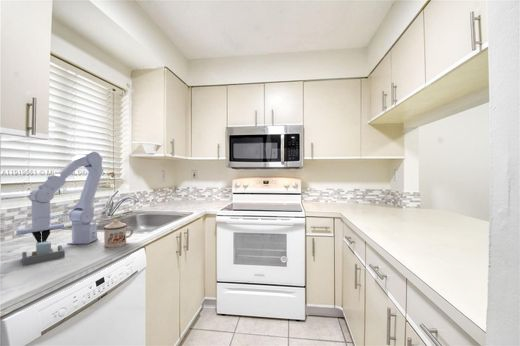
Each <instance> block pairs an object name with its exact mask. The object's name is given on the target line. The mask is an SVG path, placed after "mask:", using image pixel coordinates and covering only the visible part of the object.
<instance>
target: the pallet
mask: <svg viewBox="0 0 520 346" xmlns="http://www.w3.org/2000/svg"><path fill="white" fill-rule="evenodd" d="M51 252H55V251H54V249H53V247H51ZM35 255H37V254H36V250H34V251H32V252H31V256H35Z"/></svg>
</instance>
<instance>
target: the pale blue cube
mask: <svg viewBox="0 0 520 346" xmlns="http://www.w3.org/2000/svg"><path fill="white" fill-rule="evenodd" d="M35 247H36V248H35V251H36V254H37V255H40V254H45V253H50V252H51V248H52V242H51V240H46V241H45V242H42V241H41V242H39V243H38V242H36V243H35Z"/></svg>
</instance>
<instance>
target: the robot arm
mask: <svg viewBox="0 0 520 346" xmlns="http://www.w3.org/2000/svg"><path fill="white" fill-rule="evenodd" d="M102 162H103V157H102V156H101V154H100V153H99V152H97V151H81V152H79V153H77V155H75V156H73V158H72V160H71V161H69V163H67V164H66V165H65V167H63V169H61V171H60V172H58V174H52V175H48V176H47V177H46V180H45V181H44V182H42V183H41V184H39V185H37V188H35V189H33V190H31V191H30V193H29V195H28V196H27V197H28V199H29V201H31V227H26V228H22V229H16V233H15V234H16V235H15V236H21V235H22V236H23V235H27V234H32V236H33V238H34V239H35V240H36V243H39V242H45V241H48V238H49V236H50V234H51V231H57V230H64V229H65V224H64V223H60V224H57V223H56V224H51V201H52V200H53V198H54V196H55V193H57V191H58V190H60V189H61V188H62V187H63V186H64V185H65V184H66V179H67V178H68V177H70V175H73V173H74V172H75V171H77V170H78V169H80V167H84V168H85V169H86V170H87V172H88V173H87V177H86V180H85V182H84V186H83V188H82V191H81V194H80V197H79V200H78V202H77V203H76V204H75V205H74V206H73V207H72V209H71V211H70V212H69V214H68V219H69V220H70V221H71V241H68V242H67V243H66V244H67V245H73V244H74V245H77V244H78V245H79V244H83V245H84V244H85V245H86V244H89V243H92V242H94V241H96V240H98V239H99V238H98V225H97V224H96V223H94V222H92V221H93V220H94V218H95V215H94V212H95V211H94V210H95V208H94V206H93V202H94V199H95V196H96V192H97V190H98V187H99V183H100V180H101V177H102V175H103V164H102Z"/></svg>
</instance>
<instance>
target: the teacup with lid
mask: <svg viewBox="0 0 520 346" xmlns="http://www.w3.org/2000/svg"><path fill="white" fill-rule="evenodd" d="M103 230H104V234H103V235H104V237H103V238H104V244H103V245H104V247H105V248H119V247H122V246H124V245H126V244H127V239H129V238H130V237H132V235H133V234H134V228H133V227H131V226H127V223H124V222H121V221H119V220H118V219H113V221H112V222H110V223H108V224H106V225H104V226H103ZM127 230H130V231H131V232H130V233H129V235H127Z"/></svg>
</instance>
